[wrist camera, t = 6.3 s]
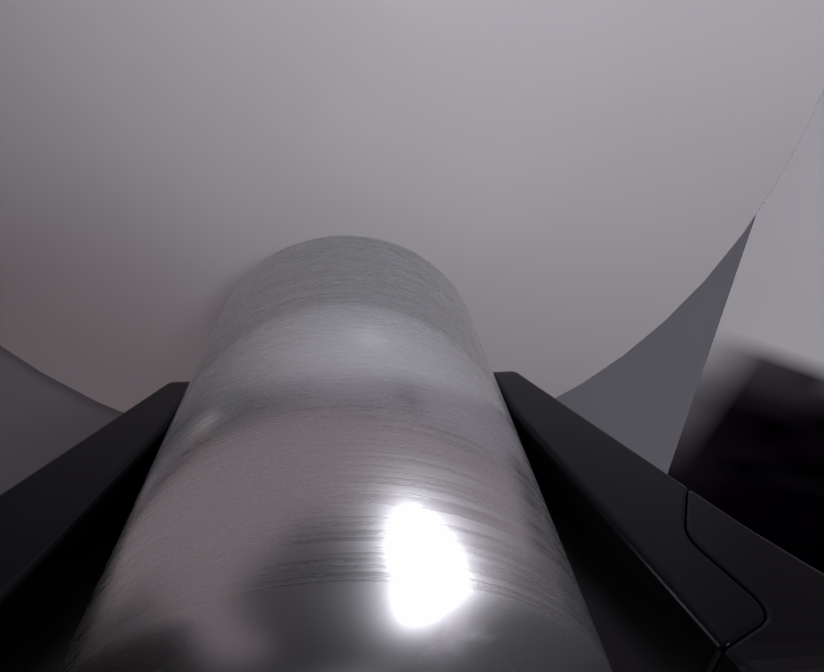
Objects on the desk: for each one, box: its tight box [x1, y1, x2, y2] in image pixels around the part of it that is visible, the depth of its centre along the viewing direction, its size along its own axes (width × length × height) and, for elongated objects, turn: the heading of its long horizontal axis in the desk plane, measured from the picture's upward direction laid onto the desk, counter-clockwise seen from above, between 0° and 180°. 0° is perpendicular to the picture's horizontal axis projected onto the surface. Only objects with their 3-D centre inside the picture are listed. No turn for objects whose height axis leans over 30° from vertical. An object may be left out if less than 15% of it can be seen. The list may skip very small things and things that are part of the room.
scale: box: [0, 0, 824, 495], centre depth 8 cm, size 20×20×3 cm
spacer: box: [58, 235, 613, 672], centre depth 7 cm, size 4×4×6 cm
